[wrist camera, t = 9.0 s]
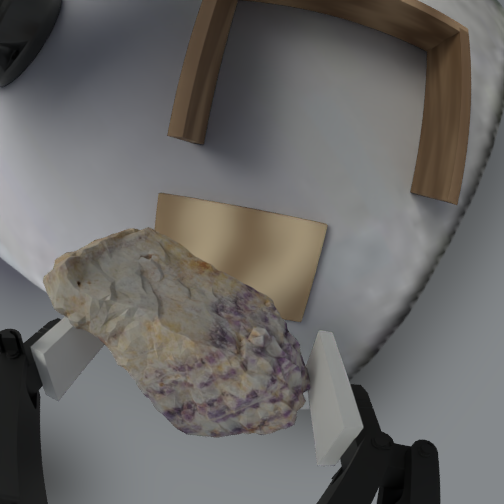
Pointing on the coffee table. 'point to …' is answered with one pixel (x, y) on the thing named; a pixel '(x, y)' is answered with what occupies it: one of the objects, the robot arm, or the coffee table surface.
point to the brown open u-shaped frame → (377, 17)
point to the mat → (248, 246)
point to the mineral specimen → (184, 333)
